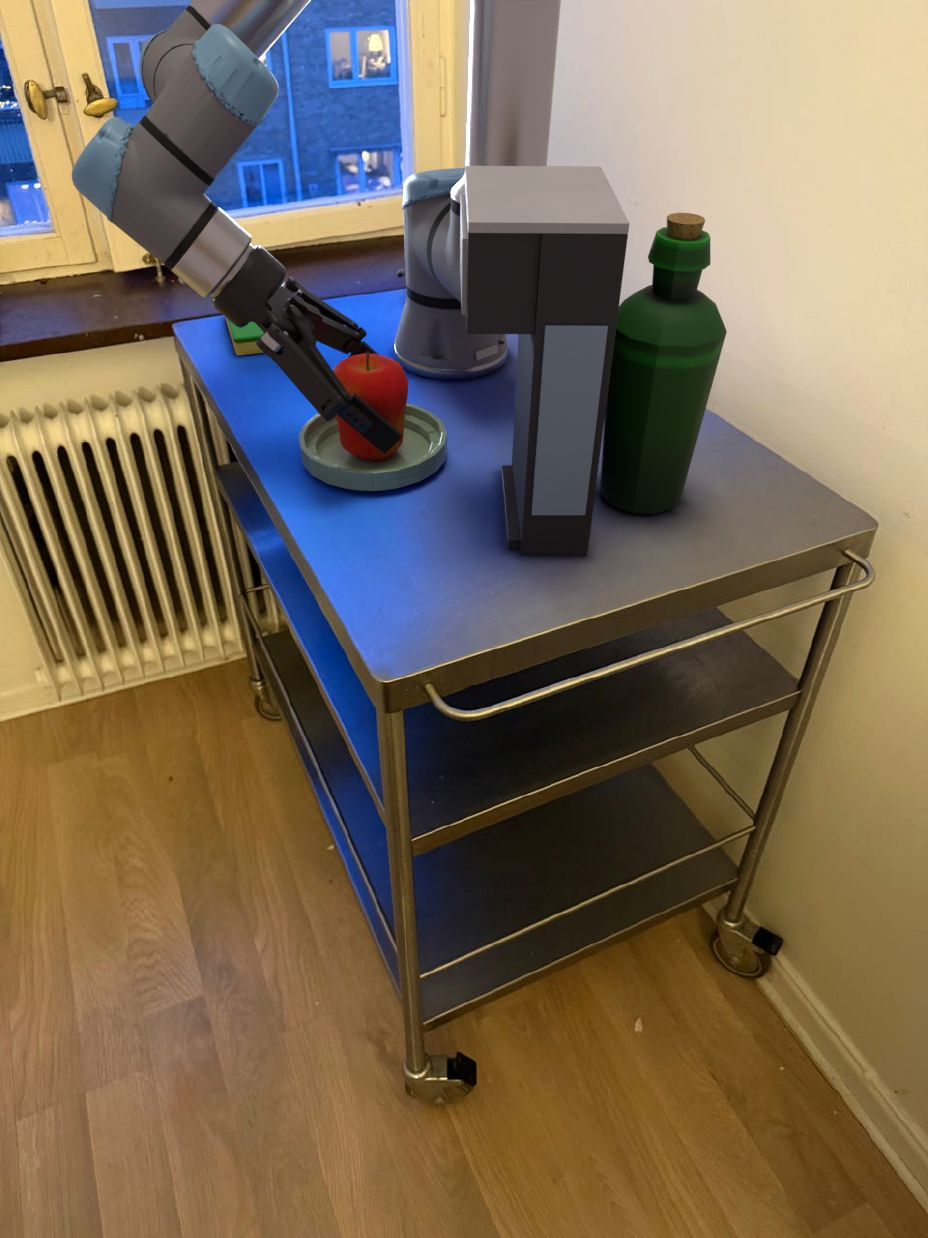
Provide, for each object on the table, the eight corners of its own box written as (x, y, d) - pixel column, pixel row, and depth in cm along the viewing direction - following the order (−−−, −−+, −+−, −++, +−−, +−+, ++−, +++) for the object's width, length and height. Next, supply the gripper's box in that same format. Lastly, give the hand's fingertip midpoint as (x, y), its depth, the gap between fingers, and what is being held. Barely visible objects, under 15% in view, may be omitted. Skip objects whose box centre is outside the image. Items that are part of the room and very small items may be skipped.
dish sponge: (236, 356, 119) (233, 339, 117) (225, 317, 129) (222, 301, 127) (289, 350, 120) (287, 333, 119) (274, 312, 130) (272, 296, 129)
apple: (326, 440, 100) (316, 340, 93) (396, 427, 103) (392, 329, 95) (347, 477, 94) (338, 374, 87) (421, 463, 97) (418, 361, 89)
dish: (280, 444, 101) (276, 420, 99) (404, 411, 107) (403, 388, 105) (339, 512, 91) (336, 488, 89) (473, 471, 97) (473, 447, 95)
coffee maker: (459, 558, 85) (463, 223, 65) (458, 469, 97) (460, 165, 77) (587, 558, 85) (630, 224, 65) (569, 469, 98) (601, 166, 77)
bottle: (696, 479, 96) (755, 207, 78) (682, 532, 89) (743, 244, 70) (601, 461, 99) (635, 195, 81) (579, 511, 91) (611, 229, 73)
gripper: (232, 257, 96) (379, 387, 106) (181, 350, 78) (365, 496, 88) (274, 205, 93) (422, 345, 103) (231, 290, 75) (416, 449, 85)
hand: (396, 415), depth 96 cm, fingers open, 12 cm apart
